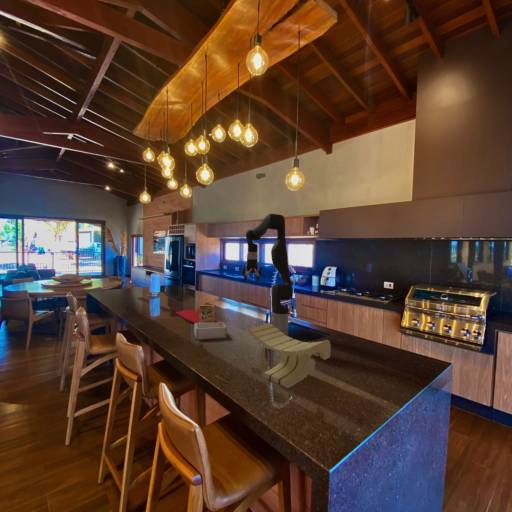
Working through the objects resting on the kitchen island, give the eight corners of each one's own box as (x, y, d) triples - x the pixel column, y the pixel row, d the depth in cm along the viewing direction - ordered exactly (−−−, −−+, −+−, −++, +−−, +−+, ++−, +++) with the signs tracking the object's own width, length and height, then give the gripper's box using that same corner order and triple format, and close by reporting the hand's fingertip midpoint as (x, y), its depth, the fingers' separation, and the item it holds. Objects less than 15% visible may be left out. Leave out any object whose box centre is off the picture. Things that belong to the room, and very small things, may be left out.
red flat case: (194, 312, 216) (194, 308, 216) (221, 325, 184) (221, 320, 184) (175, 315, 207) (175, 310, 207) (199, 329, 174) (199, 323, 174)
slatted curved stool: (328, 382, 110) (331, 338, 109) (307, 397, 98) (309, 347, 98) (270, 359, 130) (272, 322, 130) (247, 369, 118) (249, 328, 118)
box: (226, 337, 159) (226, 327, 158) (196, 339, 153) (196, 328, 153) (221, 331, 170) (222, 321, 170) (193, 333, 164) (194, 323, 164)
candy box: (198, 330, 170) (199, 305, 170) (199, 328, 175) (200, 304, 174) (213, 330, 171) (214, 306, 170) (213, 328, 175) (214, 304, 175)
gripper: (245, 258, 186) (244, 282, 187) (263, 259, 192) (262, 282, 192) (240, 258, 193) (240, 281, 193) (259, 258, 199) (258, 280, 199)
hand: (251, 281), depth 193 cm, fingers open, 8 cm apart
